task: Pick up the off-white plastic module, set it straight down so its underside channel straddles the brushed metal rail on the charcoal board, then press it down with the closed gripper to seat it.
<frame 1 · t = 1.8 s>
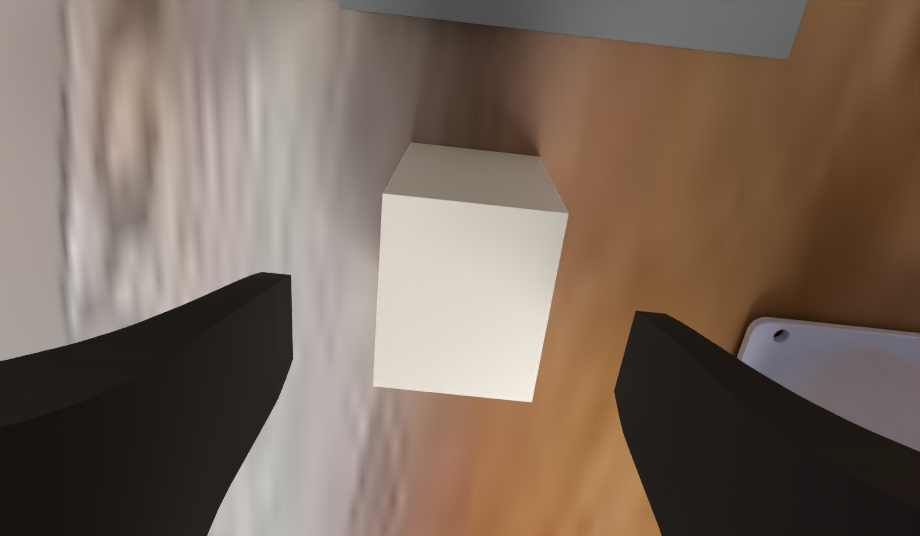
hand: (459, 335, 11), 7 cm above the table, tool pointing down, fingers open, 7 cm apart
module: (466, 225, 18), on the table
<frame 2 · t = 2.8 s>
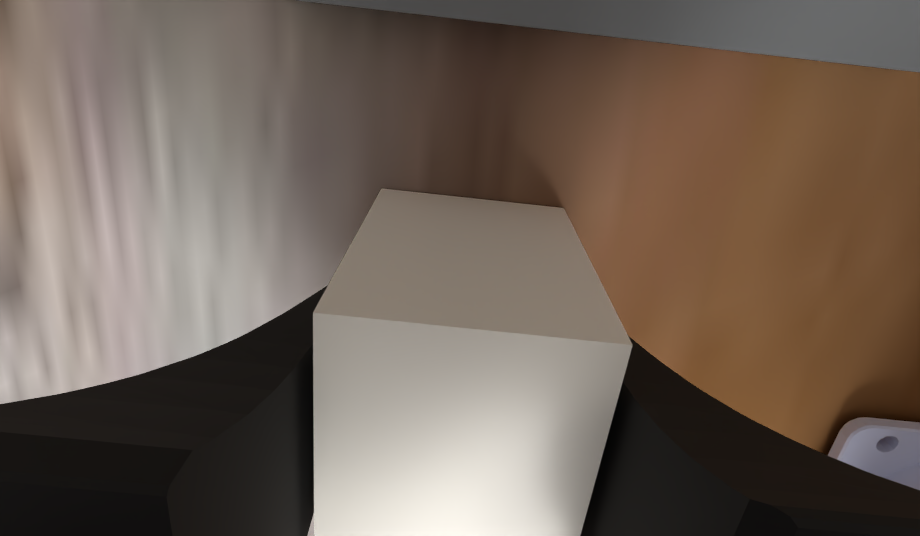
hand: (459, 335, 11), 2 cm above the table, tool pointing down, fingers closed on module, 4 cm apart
module: (460, 299, 13), on the table, touching gripper
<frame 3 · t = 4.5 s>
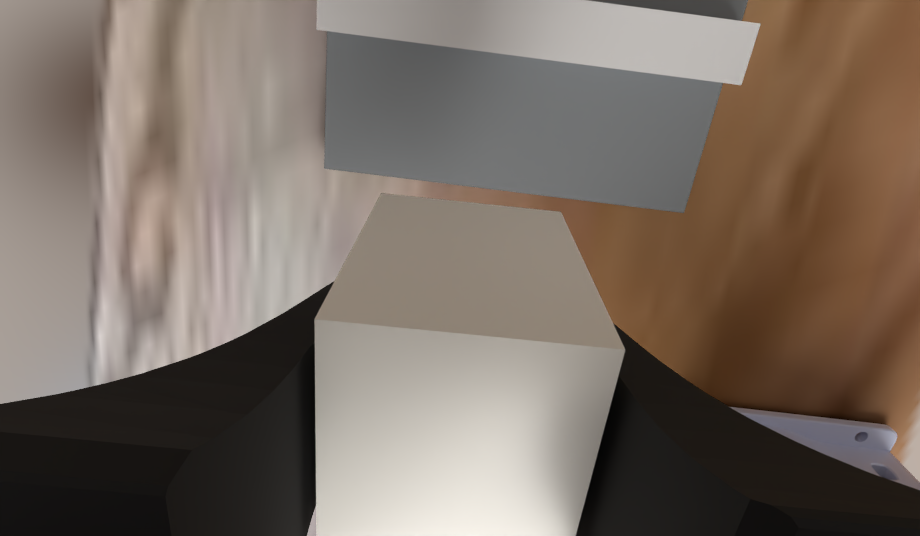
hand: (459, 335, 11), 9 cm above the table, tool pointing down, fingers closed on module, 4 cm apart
module: (460, 301, 13), point 7 cm above the table, touching gripper
rail board: (528, 26, 17), on the table
when the fingers open (4 cm above the table, at t = 6.3 s): module drops 1 cm, resting on rail board.
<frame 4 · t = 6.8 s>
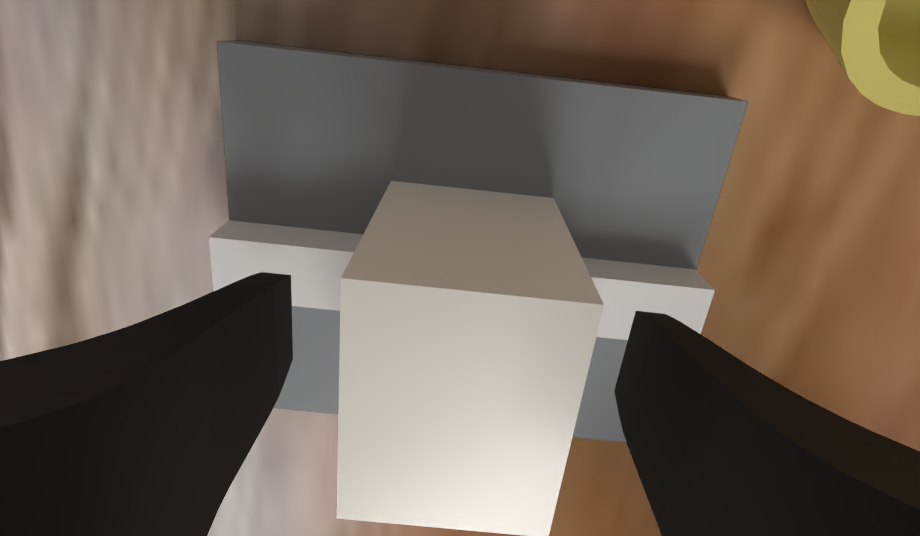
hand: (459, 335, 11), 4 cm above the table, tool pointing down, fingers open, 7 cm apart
module: (461, 281, 14), point 1 cm above the table, touching rail board
rail board: (462, 258, 15), on the table
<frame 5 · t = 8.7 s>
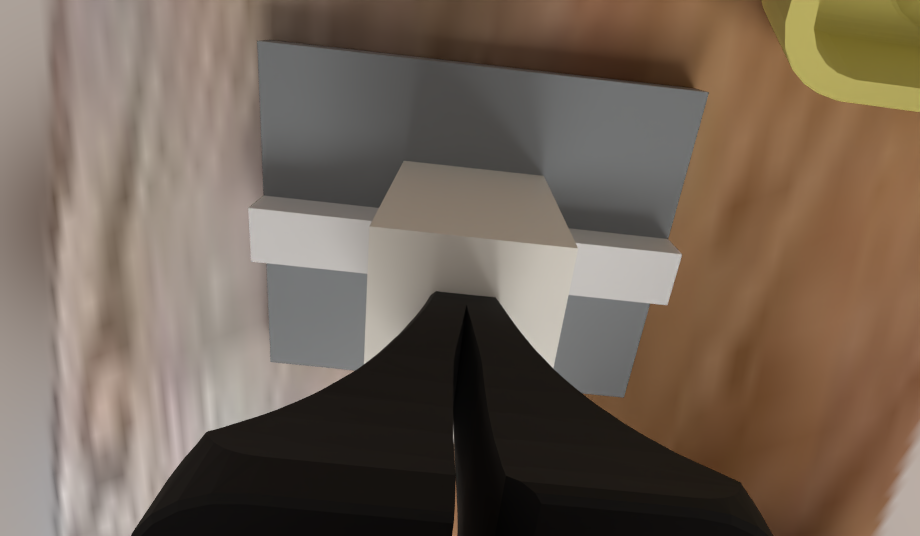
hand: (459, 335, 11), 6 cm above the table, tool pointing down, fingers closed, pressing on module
module: (464, 249, 17), point 1 cm above the table, touching gripper, rail board
rail board: (465, 231, 17), on the table
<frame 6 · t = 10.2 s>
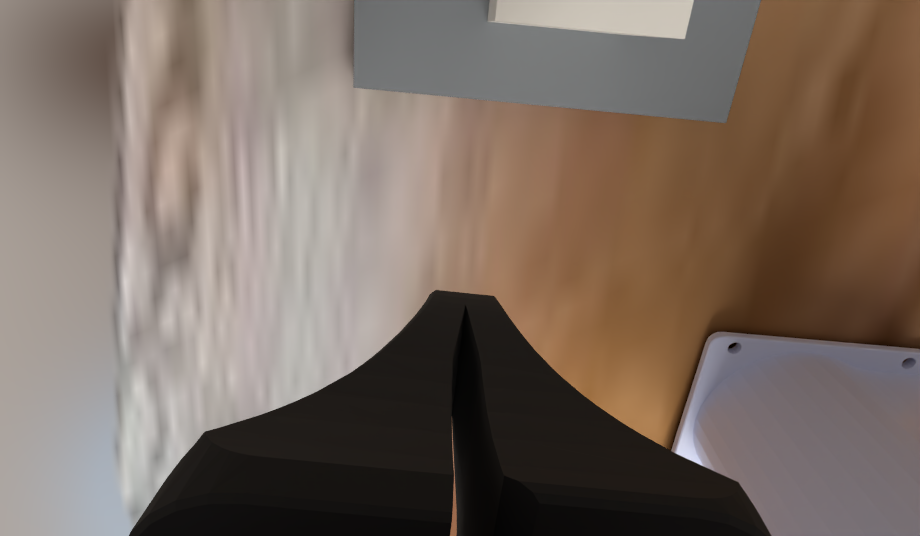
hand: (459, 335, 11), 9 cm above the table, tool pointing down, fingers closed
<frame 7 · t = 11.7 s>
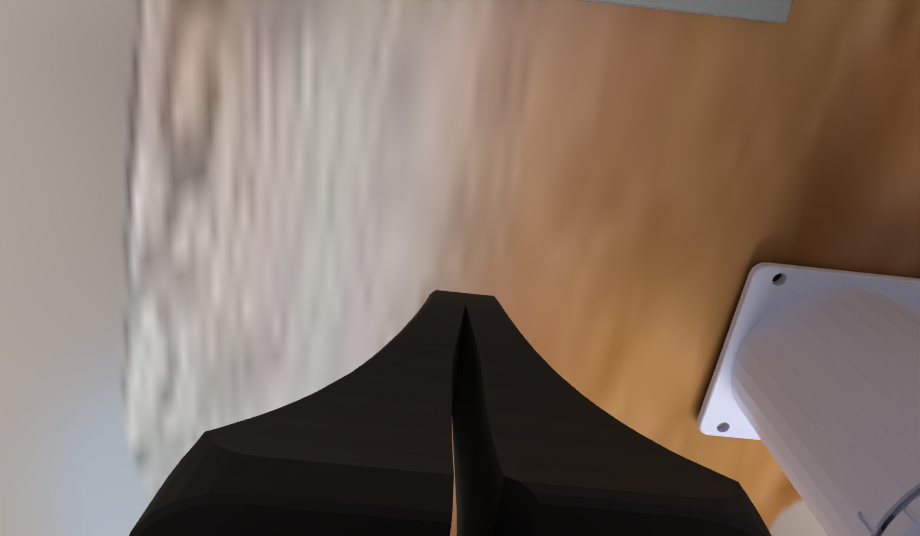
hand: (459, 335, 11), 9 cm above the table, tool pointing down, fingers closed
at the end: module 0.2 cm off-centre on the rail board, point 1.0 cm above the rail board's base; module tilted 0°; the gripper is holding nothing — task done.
